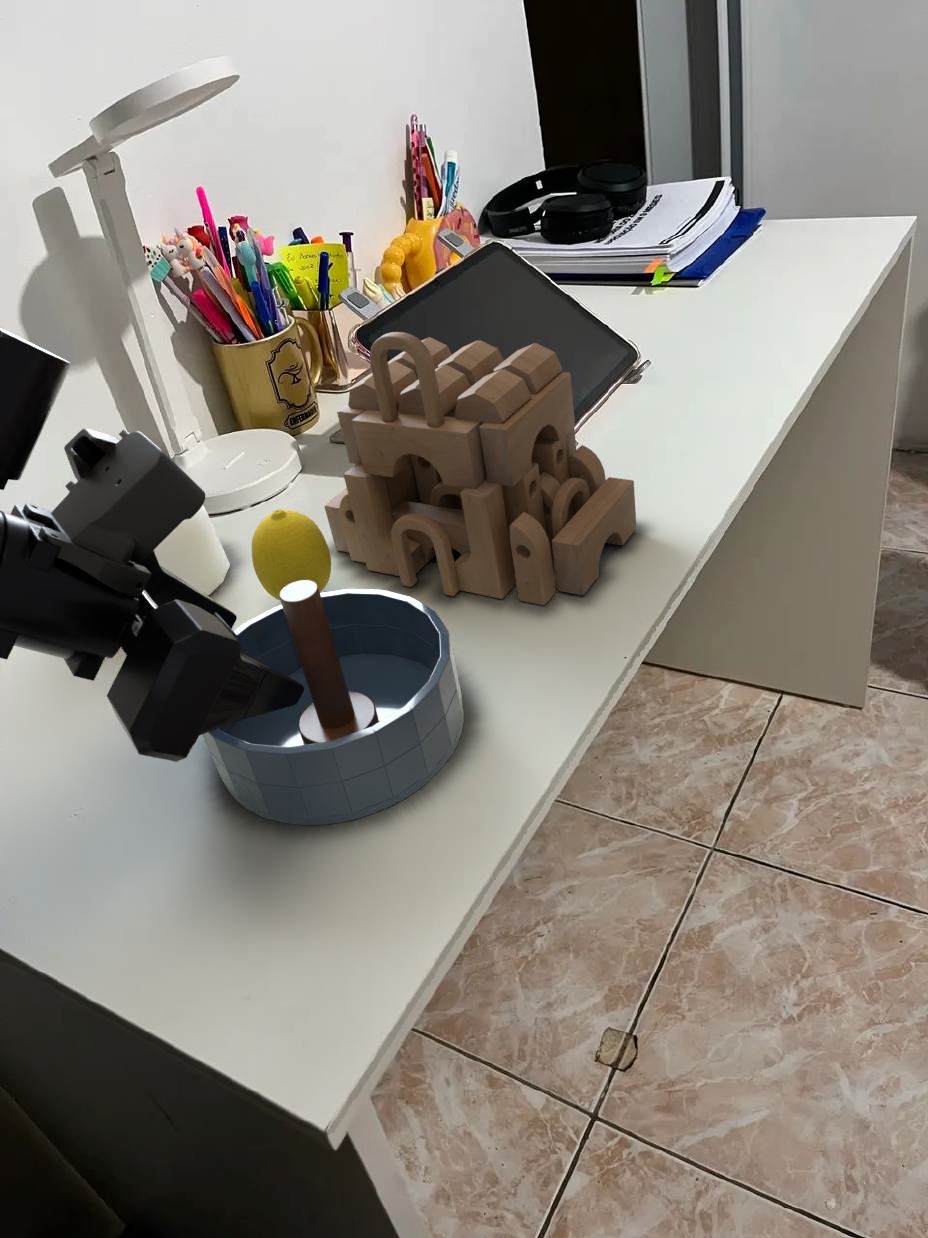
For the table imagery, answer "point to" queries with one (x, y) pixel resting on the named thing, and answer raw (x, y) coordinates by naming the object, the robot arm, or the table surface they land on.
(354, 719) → the brown wooden peg
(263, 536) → the lemon
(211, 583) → the teardrop
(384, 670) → the bowl
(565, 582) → the wooden puzzle
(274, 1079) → the table surface
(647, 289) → the table surface
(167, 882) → the table surface
